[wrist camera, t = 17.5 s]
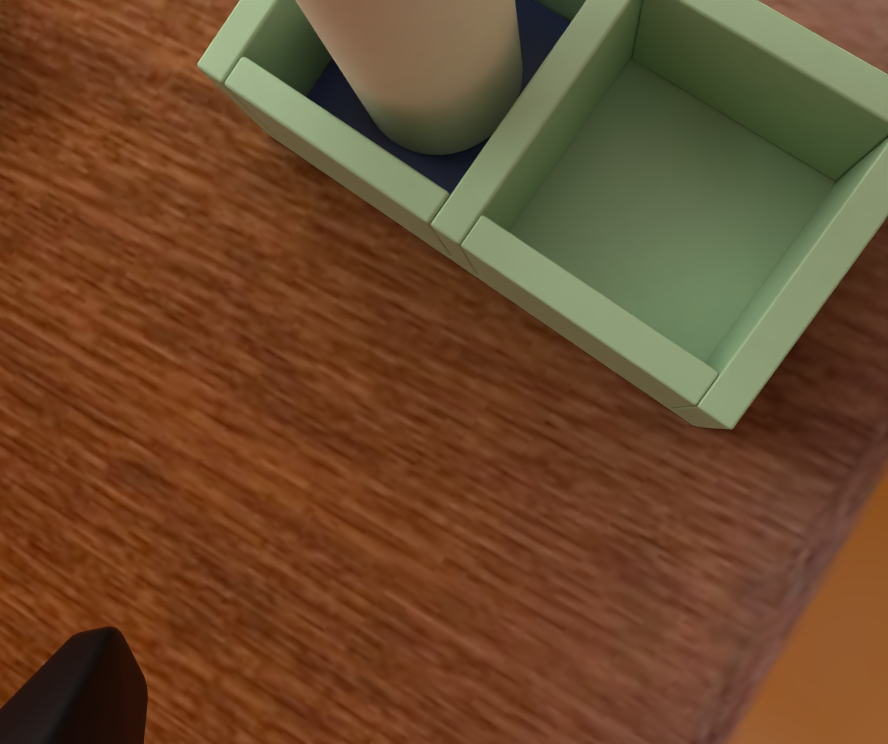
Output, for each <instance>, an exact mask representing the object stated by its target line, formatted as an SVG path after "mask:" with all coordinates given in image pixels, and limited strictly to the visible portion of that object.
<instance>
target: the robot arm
mask: <svg viewBox="0 0 888 744" xmlns="http://www.w3.org/2000/svg"><path fill="white" fill-rule="evenodd" d="M147 702H148V692H147V685H146V681H145V678H144V675H143V673H142V671H141V669H140V667H139V665H138V663H137V661H136V659H135V658H134V656H133V654H132V652H131V650H130V648H129V646H128V644H127V642H126V640H125V638H124V636H123V634H122V633H121V632H120V631H119V630H118V629H117V628H115V627H103V628H98V629H93V630H89V631H84V632H80V633H77V634H75V635H73V636H72V637H71V638H70V639H69V640H67V641H66V642H65V643H64V644H63V645H62V647H61V648H60V649H59V650H58V651H57V652H56V653H55V654H54V655H53V656H52V657H51V658H50V659H49V660H48V661H47V662H46V663H45V664H44V665H43V666H42V667H41V668H40V669H39V670H38V671H37V672H36V673H35V674H34V675H33V676H32V677H31V678H30V679H29V680H28V681H27V682H26V683H25V684H24V685H23V686H22V687H21V689H20V690H19V691H18V692H17V693H16V694H15V695H14V696H13V697H12V698H11V699H10V700H9V701H8V702H7V703H6V704H5V705H4V706H3V707H2V708H1V709H0V744H144V734H145V723H146V713H147Z"/></svg>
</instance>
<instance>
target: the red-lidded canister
mask: <svg viewBox="0 0 888 744" xmlns="http://www.w3.org/2000/svg"><path fill="white" fill-rule="evenodd" d="M295 1H296V2H297V4H298V5H299V7H300V8H301V10H302V11H303V13H304V14H305V16H306V18H307V19H308V21H309V22H310V24H311V25H312V27H313V28H314V30H315V31H316V33H317V35H318V36H319V38H320V39H321V41H322V42H323V44H324V45H325V47H326V48H327V50H328V52H329V53H330V55H331V56H332V58H333V59H334V61H335V62H336V64H337V65H338V67H339V69H340V70H341V72H342V73H343V75H344V76H345V78H346V79H347V81H348V82H349V84H350V86H351V87H352V89H353V90H354V92H355V93H356V95H357V96H358V98H359V99H360V101H361V103H362V104H363V106H364V107H365V109H366V110H367V112H368V113H369V115H370V116H371V118H372V120H373V121H374V122H375V124H376V125H377V127H378V128H379V129H380V130H381V131H382V132H383V133H384V135H385V136H387V137H388V138H389V139H390V140H392V141H393V142H394V143H396V144H398V145H399V146H401V147H403V148H406V149H408V150H410V151H413V152H417V153H421V154H428V155H445V154H453V153H457V152H460V151H464V150H466V149H469V148H471V147H473V146H475V145H477V144H479V143H481V142H482V141H484V140H485V139H487V138H488V137H489V136H491V135H492V134H493V133H494V132H495V131H496V129H497V128H498V126H499V125H500V123H501V122H502V120H503V119H504V118H505V116H506V115H507V113H508V112H509V110H510V109H511V108H512V106H513V105H514V103H515V102H516V100H517V98H518V95H519V92H520V88H521V83H522V74H523V65H522V55H521V47H520V38H519V30H518V22H517V13H516V5H515V0H295Z"/></svg>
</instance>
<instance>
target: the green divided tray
mask: <svg viewBox="0 0 888 744" xmlns="http://www.w3.org/2000/svg"><path fill="white" fill-rule="evenodd" d="M515 5H516V13H517V22H518V30H519V38H520V47H521V55H522V65H523V74H522V83H521V88H520V92H519V95H518V98H517V100H516V102H515V103H514V105H513V106H512V108H511V109H510V110H509V112H508V113H507V115H506V116H505V118H504V119H503V120H502V122H501V123H500V125H499V126H498V128H497V129H496V131H495V132H494V133H493V134H492V135H491V136H489V137H488V138H487V139H485V140H484V141H482V142H481V143H479V144H477V145H475V146H473V147H471V148H469V149H466V150H464V151H460V152H457V153H453V154H445V155H428V154H421V153H417V152H413V151H410V150H408V149H406V148H403V147H401V146H399V145H398V144H396V143H394V142H393V141H392V140H390V139H389V138H388V137H387V136H385V135H384V133H383V132H382V131H381V130H380V129H379V128H378V127H377V125H376V124H375V122H374V121H373V120H372V118H371V116H370V115H369V113H368V112H367V110H366V109H365V107H364V106H363V104H362V103H361V101H360V99H359V98H358V96H357V95H356V93H355V92H354V90H353V89H352V87H351V86H350V84H349V82H348V81H347V79H346V78H345V76H344V75H343V73H342V72H341V70H340V69H339V67H338V65H337V64H336V62H335V61H334V59H333V58H332V56H331V55H330V53H329V52H328V50H327V48H326V47H325V45H324V44H323V42H322V41H321V39H320V38H319V36H318V35H317V33H316V31H315V30H314V28H313V27H312V25H311V24H310V22H309V21H308V19H307V18H306V16H305V14H304V13H303V11H302V10H301V8H300V7H299V5H298V4H297V2H296V1H295V0H240V1H239V2H238V4H237V5H236V7H235V8H234V10H233V11H232V13H231V14H230V16H229V17H228V19H227V20H226V22H225V23H224V25H223V26H222V28H221V29H220V31H219V32H218V34H217V35H216V37H215V38H214V40H213V41H212V43H211V44H210V45H209V47H208V48H207V50H206V51H205V53H204V54H203V56H202V57H201V59H200V60H199V62H198V64H197V66H198V68H199V69H200V70H201V71H202V72H203V73H204V74H205V75H206V76H207V77H208V78H209V79H210V80H211V81H212V82H213V83H214V84H215V85H216V86H217V87H219V88H220V89H221V90H222V91H223V92H224V93H225V94H226V95H227V96H228V97H229V98H230V99H231V100H232V101H233V102H234V103H235V104H236V105H237V106H238V107H240V108H241V109H242V110H243V111H244V112H245V113H246V114H247V115H248V116H249V117H250V118H251V119H252V120H253V121H254V122H255V123H256V124H257V125H259V126H260V127H261V128H262V129H263V130H264V131H265V132H266V133H267V134H268V135H270V136H271V137H273V138H274V139H275V140H277V141H278V142H280V143H281V144H283V145H284V146H286V147H287V148H289V149H290V150H291V151H293V152H294V153H296V154H297V155H299V156H300V157H302V158H303V159H305V160H306V161H308V162H309V163H310V164H312V165H313V166H315V167H316V168H318V169H319V170H321V171H322V172H324V173H325V174H327V175H328V176H329V177H331V178H332V179H334V180H335V181H337V182H338V183H340V184H341V185H343V186H344V187H345V188H347V189H348V190H350V191H351V192H353V193H354V194H356V195H357V196H359V197H360V198H362V199H363V200H364V201H366V202H367V203H369V204H370V205H372V206H373V207H375V208H376V209H378V210H379V211H381V212H382V213H383V214H385V215H386V216H388V217H389V218H391V219H392V220H394V221H395V222H397V223H398V224H399V225H401V226H402V227H404V228H405V229H407V230H408V231H410V232H411V233H413V234H414V235H416V236H417V237H418V238H420V239H421V240H423V241H424V242H426V243H427V244H429V245H430V246H432V247H433V248H434V249H436V250H437V251H439V252H440V253H442V254H443V255H445V256H446V257H448V258H449V259H451V260H452V261H453V262H455V263H456V264H458V265H459V266H461V267H462V268H464V269H465V270H467V271H468V272H470V273H471V274H472V275H474V276H475V277H477V278H478V279H480V280H481V281H483V282H484V283H486V284H487V285H488V286H490V287H491V288H493V289H494V290H496V291H497V292H499V293H500V294H502V295H503V296H505V297H506V298H507V299H509V300H510V301H512V302H513V303H515V304H516V305H518V306H519V307H521V308H522V309H524V310H525V311H526V312H528V313H529V314H531V315H532V316H534V317H535V318H537V319H538V320H540V321H541V322H542V323H544V324H545V325H547V326H548V327H550V328H551V329H553V330H554V331H556V332H557V333H559V334H560V335H561V336H563V337H564V338H566V339H567V340H569V341H570V342H572V343H573V344H575V345H576V346H578V347H579V348H580V349H582V350H583V351H585V352H586V353H588V354H589V355H591V356H592V357H594V358H595V359H596V360H598V361H599V362H601V363H602V364H604V365H605V366H607V367H608V368H610V369H611V370H613V371H614V372H615V373H617V374H618V375H620V376H621V377H623V378H624V379H626V380H627V381H629V382H630V383H632V384H633V385H634V386H636V387H637V388H639V389H640V390H642V391H643V392H645V393H646V394H648V395H649V396H650V397H652V398H653V399H655V400H656V401H658V402H659V403H661V404H662V405H664V406H665V407H667V408H668V409H669V410H671V411H672V412H674V413H675V414H677V415H678V416H680V417H681V418H683V419H684V420H685V421H687V422H688V423H690V424H691V425H693V426H696V427H704V428H717V429H730V430H731V429H733V428H734V427H735V425H736V424H737V422H738V421H739V420H740V418H741V417H742V416H743V414H744V413H745V412H746V410H747V409H748V407H749V406H750V405H751V403H752V402H753V401H754V399H755V398H756V396H757V395H758V394H759V392H760V391H761V390H762V388H763V387H764V385H765V384H766V383H767V381H768V380H769V379H770V377H771V376H772V374H773V373H774V372H775V370H776V369H777V368H778V366H779V365H780V364H781V362H782V361H783V359H784V358H785V357H786V355H787V354H788V353H789V351H790V350H791V348H792V347H793V346H794V344H795V343H796V342H797V340H798V339H799V337H800V336H801V335H802V333H803V332H804V331H805V329H806V328H807V326H808V325H809V324H810V322H811V321H812V320H813V318H814V317H815V315H816V314H817V313H818V311H819V310H820V309H821V307H822V306H823V305H824V303H825V302H826V300H827V299H828V298H829V296H830V295H831V294H832V292H833V291H834V289H835V288H836V287H837V285H838V284H839V283H840V281H841V280H842V278H843V277H844V276H845V274H846V273H847V272H848V270H849V269H850V267H851V266H852V265H853V263H854V262H855V261H856V259H857V258H858V256H859V255H860V254H861V252H862V251H863V250H864V248H865V247H866V246H867V244H868V243H869V241H870V240H871V239H872V237H873V236H874V235H875V233H876V232H877V230H878V229H879V228H880V226H881V225H882V224H883V222H884V221H885V219H886V218H887V217H888V74H886V73H884V72H882V71H881V70H879V69H877V68H875V67H873V66H872V65H870V64H868V63H866V62H865V61H863V60H861V59H859V58H858V57H856V56H854V55H852V54H851V53H849V52H847V51H845V50H844V49H842V48H840V47H838V46H837V45H835V44H833V43H831V42H830V41H828V40H826V39H824V38H823V37H821V36H819V35H817V34H816V33H814V32H812V31H810V30H809V29H807V28H805V27H803V26H802V25H800V24H798V23H796V22H795V21H793V20H791V19H789V18H787V17H786V16H784V15H782V14H780V13H779V12H777V11H775V10H773V9H772V8H770V7H768V6H766V5H765V4H763V3H761V2H759V1H758V0H515Z"/></svg>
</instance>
